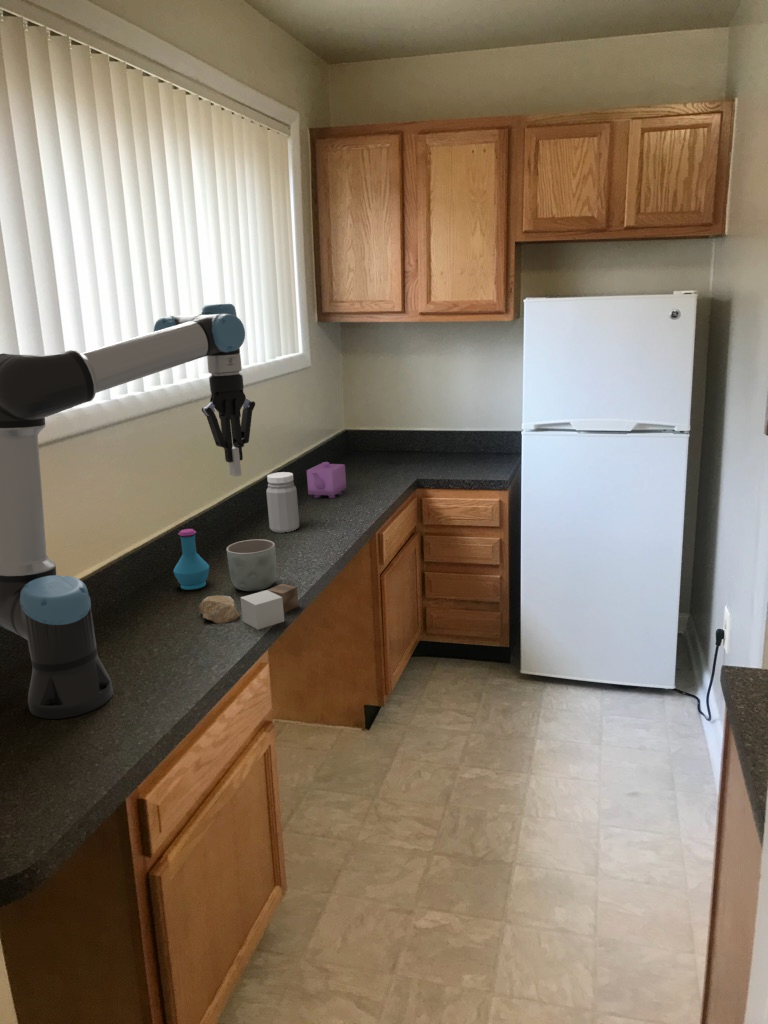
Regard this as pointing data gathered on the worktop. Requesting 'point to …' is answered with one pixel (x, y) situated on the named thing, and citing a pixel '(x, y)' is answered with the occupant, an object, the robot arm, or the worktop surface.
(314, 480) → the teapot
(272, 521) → the jar
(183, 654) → the worktop surface
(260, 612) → the block
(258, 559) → the planter
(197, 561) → the perfume bottle
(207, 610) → the stone
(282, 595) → the walnut block
